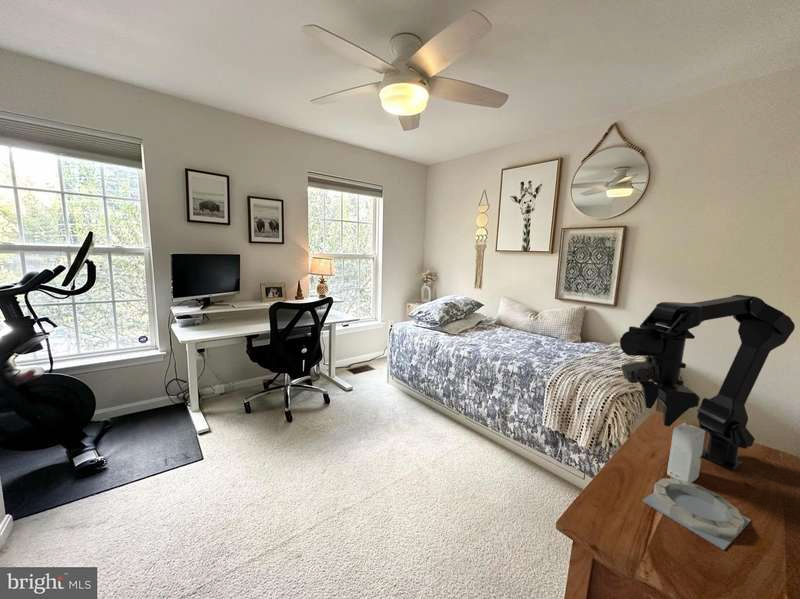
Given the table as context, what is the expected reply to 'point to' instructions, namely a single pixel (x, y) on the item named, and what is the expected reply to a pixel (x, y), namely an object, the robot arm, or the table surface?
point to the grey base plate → (698, 509)
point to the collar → (702, 524)
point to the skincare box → (686, 452)
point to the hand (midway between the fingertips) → (657, 416)
